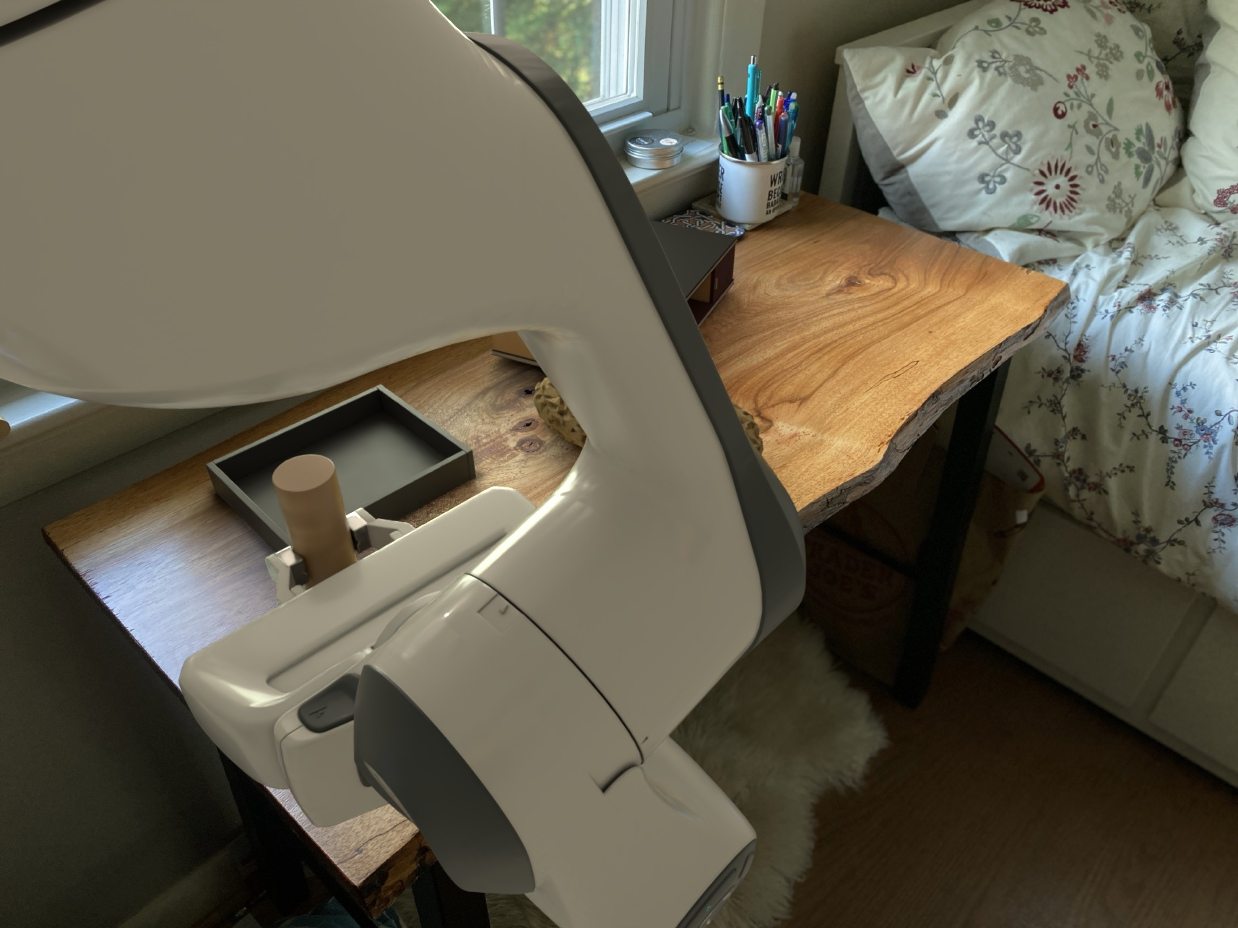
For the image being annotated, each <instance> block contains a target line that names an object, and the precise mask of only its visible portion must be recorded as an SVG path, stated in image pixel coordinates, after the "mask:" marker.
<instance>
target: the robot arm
mask: <svg viewBox="0 0 1238 928" xmlns="http://www.w3.org/2000/svg"><path fill="white" fill-rule="evenodd" d="M649 220H650V219H649V217H648V214H647V212H646V210H645V209H644V206H643V204H642V202H641V200H640V198H639V196H638V194H637V192H636V190H635V189H634V186H633V185H632V182H631V180H630V179H629V177H628V175H627V174H626V172H625V169H624V168H623V166H622V164H621V162H620V160H619V159H618V157H617V155H616V153H615V152H614V150H613V148H612V147H611V145H610V143H609V141H608V140H607V138H606V136H605V135H604V133H603V131H602V130H601V129H600V127H599V126H598V124H597V122H596V121H595V119H594V118H593V116H592V115H591V113H590V112H589V110H588V109H587V108H586V106H585V105H584V104H583V102H582V101H581V100H580V98H579V97H578V96H577V93H575V92H574V91H573V89H572V88H571V87H570V85H569V84H567V82H566V81H565V80H564V79H563V78H562V76H561V75H560V74H558V72H556V71H555V70H554V68H552V66H550V65H549V64H548V63H547V62H546V61H545V60H543V59H542V57H540V56H539V55H538V54H536V53H535V52H534V51H532V50H530V49H529V48H527V47H525V46H524V45H523V44H521V43H519V42H517V41H515V40H512V39H511V38H508V37H505V36H502V35H498V34H494V33H486V32H474V31H462V30H460V29H458V28H457V27H456V25H454V24H453V22H452V21H451V20H449V19H448V18H447V17H446V16H445V15H444V13H442V12H441V11H440V10H439V8H438V7H437V6H436V5H435V4H434V3H433V1H431V0H0V379H1V380H4V381H8V382H10V383H14V384H16V385H20V386H24V387H26V388H29V389H33V390H36V391H39V392H42V393H47V394H50V395H56V396H59V397H64V398H69V399H73V400H74V399H75V400H78V401H82V402H86V403H87V402H88V403H93V404H100V405H108V406H115V407H116V406H117V407H130V408H145V409H157V410H158V409H160V410H192V409H193V410H194V409H196V410H197V409H209V408H210V409H212V408H213V409H214V408H225V407H226V408H227V407H233V406H234V407H236V406H237V407H238V406H246V405H252V404H258V403H259V404H261V403H266V402H274V401H278V400H283V399H288V398H293V397H297V396H302V395H307V394H311V393H315V392H317V391H322V390H325V389H328V388H331V387H335V386H338V385H340V384H343V383H345V382H348V381H350V380H353V379H356V378H358V377H360V376H363V375H366V374H369V373H371V372H373V371H376V370H379V369H382V368H385V367H387V366H390V365H393V364H395V363H399V362H401V361H403V360H406V359H408V358H409V359H410V358H413V357H414V356H418V355H421V354H424V353H428V352H431V351H435V350H437V349H441V348H444V347H448V346H450V345H454V344H459V343H462V342H466V341H471V340H475V339H476V340H477V339H480V338H483V337H488V336H492V335H495V334H500V333H505V332H512V331H516V332H517V333H518V335H519V336H520V338H521V339H522V340H523V342H524V343H525V345H526V346H527V348H528V349H529V351H530V352H531V354H532V355H533V357H534V358H535V360H536V361H537V363H538V364H539V366H540V367H539V368H541V370H542V372H543V373H544V374H545V376H546V378H548V379H549V380H550V382H551V383H552V385H553V386H554V388H555V389H556V391H557V392H558V394H559V395H560V396H561V398H562V399H563V401H564V402H565V404H566V405H567V407H568V408H569V410H570V411H571V413H572V414H573V416H574V417H575V419H576V420H577V422H578V423H579V424H580V426H581V427H582V429H583V430H584V432H585V433H586V435H587V437H586V441H585V445H584V447H583V448H582V450H581V452H580V454H579V455H578V458H577V460H576V461H575V463H574V464H573V466H572V468H571V469H570V470H569V472H568V473H567V474H566V476H565V477H564V478H563V480H562V481H561V482H560V483H559V485H558V486H557V487H556V488H555V489H554V490H553V491H552V492H551V493H550V494H549V495H548V496H547V497H546V498H545V499H544V500H543V501H541V502H540V504H538V505H536V504H535V503H534V502H533V501H531V500H530V499H529V498H528V497H527V496H526V495H524V494H523V493H522V492H521V491H520V490H519V489H517V488H514V487H509V486H502V485H492V486H490V487H488V488H486V489H485V490H483V491H481V492H479V493H477V494H475V495H473V496H472V497H470V498H468V499H466V500H465V501H463V502H461V503H459V504H458V505H456V506H454V507H452V508H451V509H449V510H447V511H445V512H444V513H442V514H440V515H438V516H436V517H434V518H433V519H431V520H429V521H427V522H426V523H424V524H422V525H420V526H418V527H417V528H415V527H414V526H413V525H412V524H411V523H410V522H404V521H399V520H398V521H391V520H384V519H375V518H374V517H372V516H371V515H370V514H369V513H368V512H367V511H365V510H364V509H363V508H359V509H357V510H355V511H354V512H352V513H350V514H348V515H346V516H347V520H348V524H349V528H350V532H351V536H352V540H353V545H354V549H355V553H356V554H358V555H360V554H362V553H364V552H366V551H369V550H370V549H373V550H375V551H374V552H372V553H371V554H368V555H366V556H365V557H363V558H361V559H360V560H357V561H358V562H356V563H354V564H352V565H351V566H349V567H347V568H345V569H344V570H342V571H340V572H338V573H336V574H335V575H333V576H331V577H329V578H328V579H326V580H324V581H322V582H320V583H319V584H317V585H315V586H313V587H312V588H310V589H308V590H305V589H304V588H303V587H302V586H303V585H305V584H307V583H308V582H310V580H309V576H308V573H307V572H306V571H305V568H306V566H305V563H304V559H303V558H302V557H301V556H300V555H299V554H298V553H296V552H294V550H293V548H292V547H291V546H288V547H286V548H284V549H282V550H280V551H278V552H276V553H275V552H273V553H272V554H270V555H268V556H266V557H265V558H264V561H265V565H266V568H267V571H268V574H269V576H270V578H271V580H272V581H273V582H274V584H275V594H274V595H275V596H274V598H275V601H276V603H277V606H276V607H274V608H272V609H270V610H268V611H267V612H265V613H264V614H262V615H259V616H257V617H256V618H254V619H252V620H251V621H249V622H248V623H246V624H244V625H242V626H240V627H239V628H237V629H234V630H233V631H231V632H229V633H227V634H226V635H224V636H223V637H220V638H219V639H217V640H215V641H214V642H212V643H210V644H208V645H206V646H204V647H203V648H201V649H199V650H197V651H195V652H193V653H192V654H190V655H189V656H188V657H186V659H185V660H184V661H183V663H182V667H181V670H180V673H179V676H178V681H177V682H178V686H179V688H180V691H181V693H182V695H183V698H184V701H185V703H186V704H187V706H188V708H189V710H190V713H191V714H192V716H193V718H194V719H195V721H196V722H197V724H198V725H199V726H200V728H201V729H202V730H203V733H205V735H207V736H208V738H209V739H210V740H211V741H212V742H213V743H214V744H215V745H216V747H217V748H218V749H219V750H220V751H221V752H222V753H223V754H224V755H225V756H226V757H227V758H228V759H229V760H230V761H231V762H233V763H234V764H235V765H236V766H237V767H238V768H239V769H241V771H243V772H244V773H245V774H246V775H248V776H249V777H250V778H251V779H252V780H254V781H255V782H257V783H259V784H260V785H262V786H265V787H267V788H271V789H275V790H283V791H284V790H289V791H290V793H291V795H292V797H293V799H294V800H295V802H296V804H297V805H298V807H299V808H300V810H301V812H302V813H303V815H304V816H305V817H306V818H307V820H308V821H309V822H310V824H312V825H313V826H315V827H317V828H322V829H323V828H324V829H325V828H331V827H334V826H337V825H339V824H342V823H345V822H347V821H349V820H352V819H354V818H357V817H359V816H361V815H364V814H366V813H370V812H372V811H374V810H377V809H379V808H382V807H385V806H388V805H390V806H391V807H392V808H393V809H395V811H397V812H398V813H400V815H402V816H403V817H404V818H405V819H407V820H408V822H410V823H412V824H413V825H414V826H415V827H416V828H417V830H418V831H419V832H420V834H421V836H422V837H423V839H424V840H425V842H426V844H427V846H428V847H429V849H430V850H431V851H432V853H433V854H434V857H435V858H436V860H437V861H438V863H439V864H440V866H441V868H442V869H443V871H444V872H445V873H446V875H447V876H448V878H450V881H453V883H454V884H455V885H456V886H457V887H458V888H459V889H461V890H463V891H466V892H469V893H470V892H474V893H484V894H495V895H525V897H526V898H527V899H529V901H530V902H532V904H534V905H535V907H537V908H538V909H539V910H540V911H541V912H542V913H543V914H544V915H545V916H547V917H548V919H550V920H551V921H552V922H553V923H554V924H555V925H557V926H558V927H559V928H708V926H709V925H710V924H711V922H712V921H713V920H714V919H715V917H717V915H718V914H719V913H720V912H721V910H722V909H723V908H724V907H725V906H726V904H727V903H728V902H729V900H730V898H731V896H732V894H733V893H734V892H735V890H736V889H738V888H739V887H740V885H741V884H742V883H743V881H744V878H745V877H746V875H747V874H748V872H749V870H750V868H751V865H752V863H753V862H754V861H753V860H754V858H755V851H756V850H755V849H756V845H757V839H758V837H757V832H756V830H755V829H754V827H753V826H752V824H751V823H750V822H749V819H748V818H747V817H746V816H745V815H744V814H743V813H742V811H741V810H740V809H739V808H738V807H737V806H736V805H735V803H734V802H733V801H732V800H731V798H730V797H729V796H728V795H727V793H725V792H724V791H723V789H722V788H720V787H719V785H718V784H717V783H716V782H715V781H714V780H713V779H712V778H711V776H709V774H707V773H706V771H705V770H704V769H703V768H702V767H701V766H700V765H699V764H698V763H697V762H696V761H695V760H694V759H693V758H692V757H691V756H690V755H689V754H688V753H687V752H686V751H685V750H684V749H683V748H682V746H680V745H679V744H678V743H677V742H676V741H675V740H673V738H672V737H671V736H670V735H671V734H672V733H673V732H674V731H675V730H676V729H677V728H678V727H679V725H681V724H682V722H683V721H684V720H685V719H686V718H687V717H688V716H689V715H690V713H691V712H692V711H693V710H694V709H695V708H696V707H697V705H699V704H700V702H701V701H702V700H703V699H704V698H705V697H706V696H707V695H708V693H709V692H710V691H711V690H712V689H713V688H714V687H715V686H716V685H717V684H718V683H719V682H720V680H721V679H722V678H723V677H724V676H725V675H726V674H727V673H728V671H729V670H730V669H732V667H733V666H734V665H735V664H736V663H737V662H738V661H739V660H742V659H743V658H744V657H746V656H747V655H748V654H750V653H751V652H752V651H754V649H755V648H756V647H757V646H758V645H759V644H761V642H763V640H764V639H766V638H767V637H768V636H769V635H770V634H771V633H772V632H773V631H774V630H776V629H777V628H778V627H779V626H780V625H781V624H782V623H783V622H784V621H785V620H786V619H787V618H788V617H789V616H790V615H792V613H794V611H796V610H797V609H798V608H799V606H800V604H801V603H802V601H803V599H804V596H805V593H806V592H805V591H806V583H807V582H806V581H807V555H806V544H805V536H804V535H805V534H804V531H803V526H802V521H801V517H800V515H799V512H798V510H797V507H796V505H795V503H794V501H793V499H792V497H791V496H790V494H789V492H788V490H787V489H786V487H785V486H784V484H783V483H782V481H781V479H779V477H778V475H777V474H776V473H775V471H774V470H773V468H772V467H771V466H770V464H769V463H768V462H767V460H766V459H765V458H764V456H763V454H762V455H761V454H760V452H759V451H758V450H757V448H756V447H755V446H754V444H753V443H752V441H751V440H750V438H749V437H748V435H747V433H746V431H745V429H744V427H743V425H742V423H741V421H740V419H739V417H738V414H737V412H736V410H735V408H734V405H733V403H732V402H733V401H732V399H731V396H730V394H729V392H728V390H727V388H726V385H725V383H724V381H723V379H722V376H721V374H720V372H719V369H718V367H717V365H716V363H715V361H714V359H713V356H712V353H711V352H710V350H709V347H708V345H707V343H706V342H705V338H704V336H703V334H702V331H701V329H700V327H698V325H697V323H696V321H695V318H694V316H693V314H692V312H691V309H690V307H689V305H688V303H687V300H686V298H685V296H684V294H683V292H682V290H681V287H680V285H679V283H678V281H677V278H676V276H675V274H674V272H673V269H672V267H671V265H670V263H669V261H668V259H667V256H666V254H665V252H664V250H663V248H662V246H661V244H660V241H659V239H658V237H657V235H656V233H655V231H654V229H653V227H652V225H651V223H650V221H649Z"/></svg>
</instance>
